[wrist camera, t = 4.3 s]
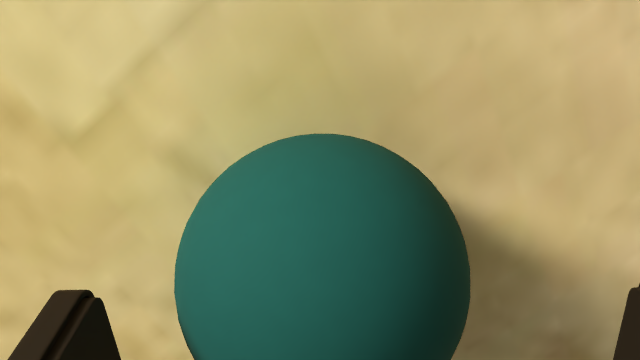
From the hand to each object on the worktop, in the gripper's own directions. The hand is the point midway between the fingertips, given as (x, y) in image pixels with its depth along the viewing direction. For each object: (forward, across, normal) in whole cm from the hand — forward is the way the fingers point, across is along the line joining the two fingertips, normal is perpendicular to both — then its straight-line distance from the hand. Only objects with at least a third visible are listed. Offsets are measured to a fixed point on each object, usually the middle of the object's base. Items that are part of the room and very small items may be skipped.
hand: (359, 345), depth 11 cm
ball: (+5, +1, 0) cm, 5 cm away
